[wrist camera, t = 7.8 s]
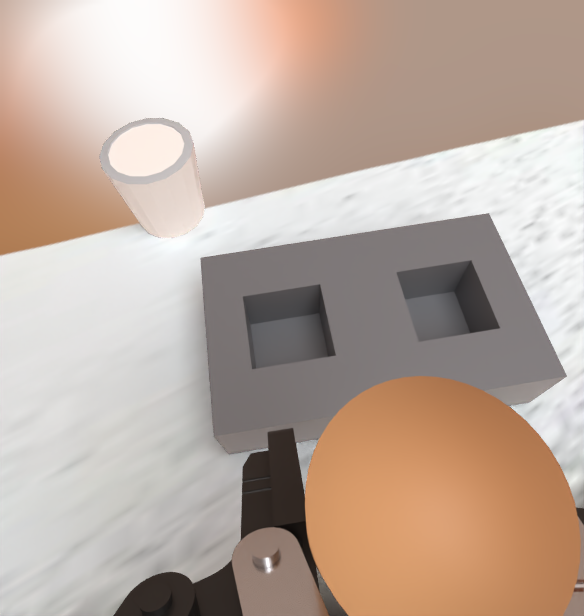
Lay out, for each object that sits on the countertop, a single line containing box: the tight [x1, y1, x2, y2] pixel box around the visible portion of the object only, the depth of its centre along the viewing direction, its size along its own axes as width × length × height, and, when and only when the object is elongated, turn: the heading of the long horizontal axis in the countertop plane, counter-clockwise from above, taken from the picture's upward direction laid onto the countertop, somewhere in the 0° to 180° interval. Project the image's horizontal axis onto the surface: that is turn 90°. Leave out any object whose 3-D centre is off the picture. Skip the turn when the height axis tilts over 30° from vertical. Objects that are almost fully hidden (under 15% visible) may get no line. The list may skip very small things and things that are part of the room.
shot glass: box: [100, 118, 205, 238], centre depth 36 cm, size 7×7×7 cm
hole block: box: [201, 213, 567, 454], centre depth 30 cm, size 20×12×5 cm, turn 99°
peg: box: [305, 376, 581, 616], centre depth 11 cm, size 3×3×12 cm
